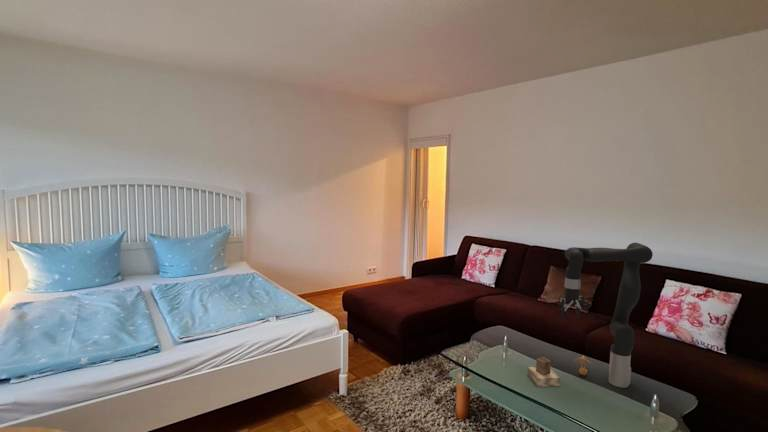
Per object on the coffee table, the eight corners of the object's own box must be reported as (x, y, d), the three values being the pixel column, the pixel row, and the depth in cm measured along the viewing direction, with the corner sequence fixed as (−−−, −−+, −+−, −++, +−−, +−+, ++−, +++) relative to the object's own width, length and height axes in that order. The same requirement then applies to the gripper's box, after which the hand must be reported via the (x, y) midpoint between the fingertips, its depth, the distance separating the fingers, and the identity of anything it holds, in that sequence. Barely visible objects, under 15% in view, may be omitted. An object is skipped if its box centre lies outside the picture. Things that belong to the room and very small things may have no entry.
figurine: (592, 375, 216) (593, 354, 214) (590, 380, 211) (591, 359, 209) (575, 371, 221) (576, 350, 219) (573, 375, 216) (574, 354, 214)
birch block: (548, 374, 218) (548, 366, 217) (559, 386, 206) (560, 377, 205) (527, 375, 217) (527, 367, 216) (537, 387, 205) (537, 378, 204)
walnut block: (542, 369, 214) (543, 356, 213) (550, 373, 210) (550, 361, 209) (536, 371, 212) (536, 358, 211) (543, 375, 208) (543, 362, 207)
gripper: (577, 283, 210) (576, 312, 212) (555, 285, 206) (554, 315, 207) (589, 287, 203) (587, 317, 205) (566, 289, 198) (564, 320, 200)
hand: (570, 316), depth 206 cm, fingers open, 8 cm apart
